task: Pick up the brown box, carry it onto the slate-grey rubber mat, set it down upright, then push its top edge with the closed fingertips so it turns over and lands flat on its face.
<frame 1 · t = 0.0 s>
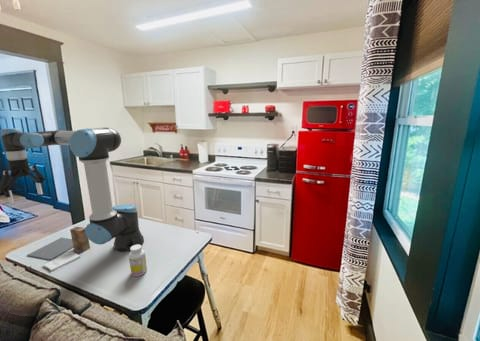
hand: (26, 198, 122), 28 cm above the table, tool pointing down, fingers open, 13 cm apart
brown box: (82, 248, 125), on the table
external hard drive: (62, 263, 114), on the table
mat: (56, 248, 126), on the table
supplement bottle: (139, 272, 106), on the table
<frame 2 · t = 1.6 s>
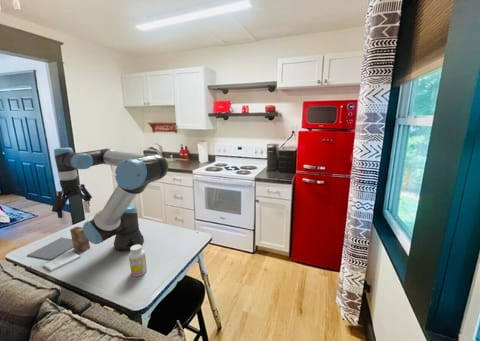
hand: (76, 217, 121), 18 cm above the table, tool pointing down, fingers open, 13 cm apart
nothing on the table moved.
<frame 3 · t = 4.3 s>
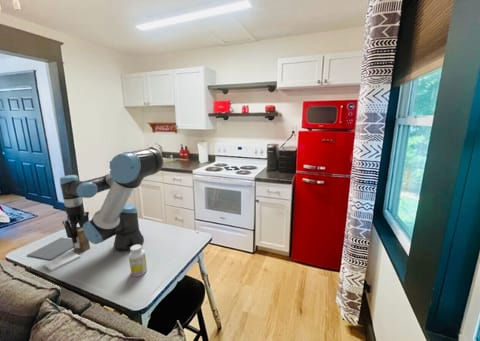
hand: (81, 245, 125), 2 cm above the table, tool pointing down, fingers closed on brown box, 4 cm apart
brown box: (82, 248, 125), on the table, touching gripper
everything else where it was.
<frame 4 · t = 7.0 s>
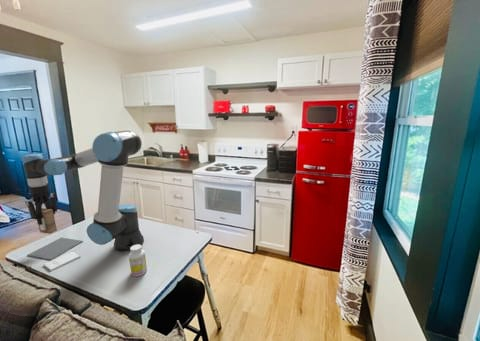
hand: (47, 227, 121), 13 cm above the table, tool pointing down, fingers closed on brown box, 4 cm apart
brown box: (48, 231, 121), point 11 cm above the table, touching gripper
everything else where it was.
when the fingers open (3 cm above the table, at t = 9.2 s): brown box stays where it is, resting on mat.
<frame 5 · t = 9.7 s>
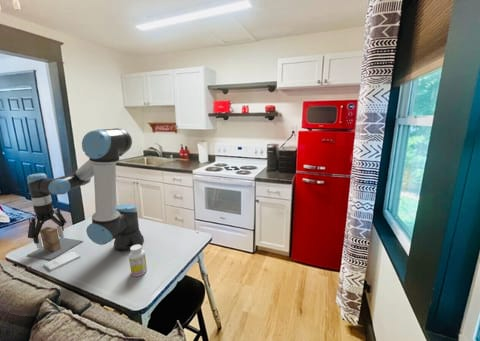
hand: (51, 242, 123), 5 cm above the table, tool pointing down, fingers open, 10 cm apart
brown box: (52, 249, 124), point 1 cm above the table, touching mat
everything else where it was.
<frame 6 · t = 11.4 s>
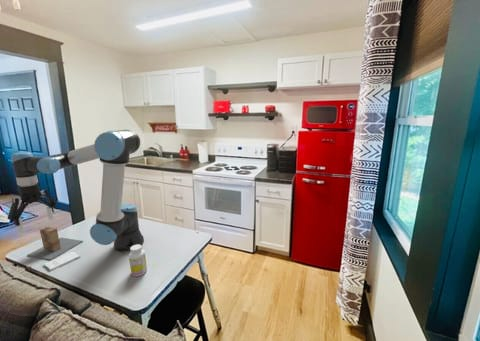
hand: (37, 224, 116), 17 cm above the table, tool pointing down, fingers open, 13 cm apart
nothing on the table moved.
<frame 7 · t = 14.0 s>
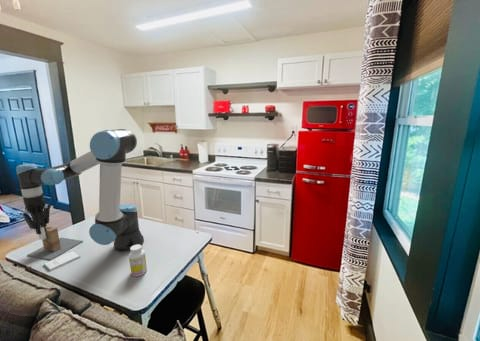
hand: (43, 238, 119), 9 cm above the table, tool pointing down, fingers closed
brown box: (52, 249, 124), point 1 cm above the table, touching gripper, mat
everything else where it was.
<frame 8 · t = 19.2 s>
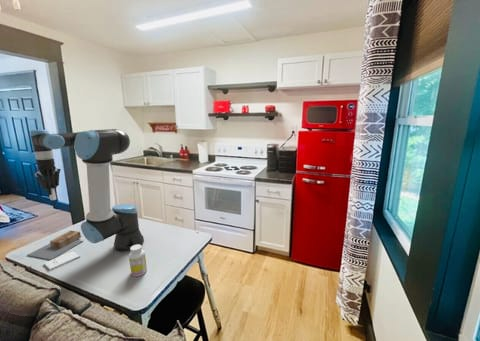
hand: (53, 199, 131), 24 cm above the table, tool pointing down, fingers closed
brown box: (55, 244, 125), point 2 cm above the table, tilted 89°, touching mat
everything else where it was.
at the end: brown box tilted 89°; brown box inside the target area (1.2 cm from its centre), point 2.3 cm above the table; the gripper is holding nothing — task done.
